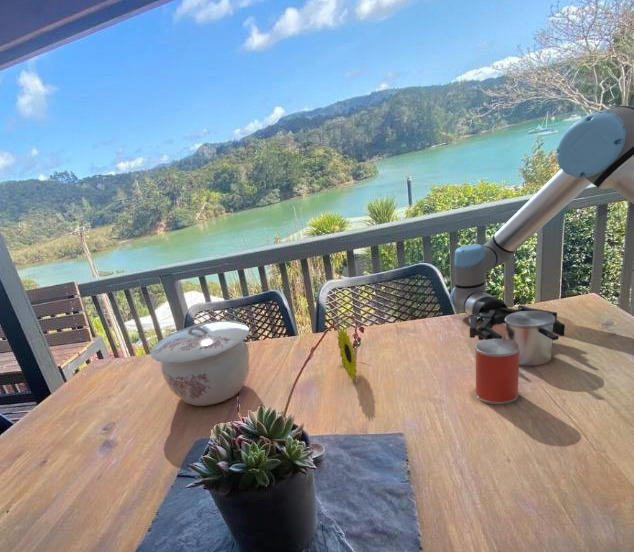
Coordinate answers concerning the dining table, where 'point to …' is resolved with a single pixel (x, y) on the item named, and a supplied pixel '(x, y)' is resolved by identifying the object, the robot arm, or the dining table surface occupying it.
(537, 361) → the steel pot
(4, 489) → the dining table surface
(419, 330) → the dining table surface
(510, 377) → the tin can
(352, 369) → the decorative plant
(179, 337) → the chamber pot
